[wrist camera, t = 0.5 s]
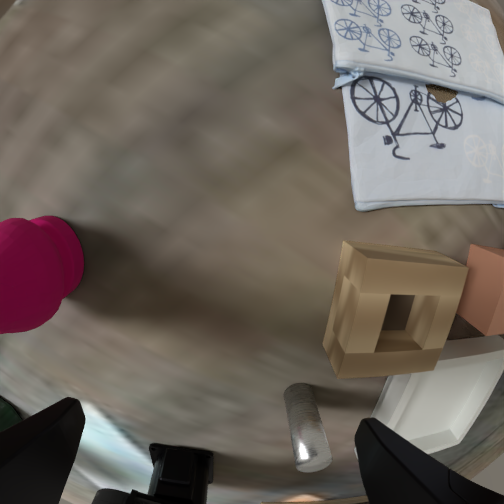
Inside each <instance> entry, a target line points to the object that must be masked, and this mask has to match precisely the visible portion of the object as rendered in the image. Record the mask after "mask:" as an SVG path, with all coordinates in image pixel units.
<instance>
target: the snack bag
mask: <svg viewBox="0 0 504 504" xmlns="http://www.w3.org/2000/svg"><path fill="white" fill-rule="evenodd" d="M322 3H323V6H324V10H325V14H326V18H327V22H328V26H329V30H330V34H331V38H332V42H333V66H334V68H333V69H334V71H335V72H339V73H340V77H339V78H336V80H335V86H334V87H333V88H332V89H336V88H338V87H340V86H341V87H342V93H343V100H344V108H345V116H346V123H347V131H348V143H349V157H350V171H351V184H352V190H353V196H354V202H355V208H356V210H358V211H363V212H364V211H371V210H375V209H381V208H388V207H399V206H413V205H439V204H454V205H459V204H492V205H493V206H494V207H498V208H504V55H503V52H502V50H501V46H500V43H499V40H498V37H497V33H496V30H495V27H494V25H493V23H492V20H491V16H490V12H489V10H488V9H486V8H483V7H481V6H479V5H477V4H475V3H473V2H471V1H469V0H322ZM425 84H428V85H430V84H435V85H439V86H443V87H447V88H450V89H452V90H456V91H458V94H457V96H456V98H453V99H452V100H451V101H447V102H446V103H441V102H437V101H436V100H435V97H434V96H433V95H432V94H431V93H430V92H429V94H430V95H429V94H428V91H427V88H426V85H425ZM495 204H496V205H495Z"/></svg>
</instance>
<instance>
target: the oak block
mask: <svg viewBox="0 0 504 504" xmlns="http://www.w3.org/2000/svg"><path fill="white" fill-rule="evenodd" d="M468 269H469V268H468V267H467V266H465V265H463V264H461V263H459V262H457V261H455V260H453V259H451V258H449V257H447V256H445V255H443V254H440V253H438V252H436V251H431V250H423V249H414V248H406V247H398V246H389V245H380V244H371V243H362V242H353V241H344V240H343V246H342V252H341V257H340V263H339V269H338V274H337V279H336V284H335V290H334V295H333V299H332V304H331V309H330V314H329V318H328V323H327V327H326V332H325V336H324V340H323V344H322V345H323V347H324V349H325V351H326V354H327V356H328V358H329V361H330V363H331V365H332V367H333V370H334V372H335V374H336V377H337V379H344V378H364V377H378V376H390V375H401V374H410V373H418V372H426V371H433V370H434V368H435V366H436V364H437V361H438V359H439V357H440V354H441V352H442V349H443V347H444V344H445V342H446V339H447V336H448V334H449V331H450V328H451V325H452V323H453V320H454V317H455V314H456V311H457V308H458V304H459V301H460V298H461V295H462V291H463V288H464V284H465V280H466V277H467V273H468Z"/></svg>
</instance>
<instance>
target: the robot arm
mask: <svg viewBox="0 0 504 504" xmlns="http://www.w3.org/2000/svg"><path fill="white" fill-rule="evenodd" d="M84 425H85V415H84V412H83V409H82V406H81V403H80V401H79V400H78V399H75V398H71V397H66V398H64V399H62V400H60V401H59V402H57V403H55V404H53V405H51V406H49V407H47V408H46V409H44V410H42V411H40V412H38V413H36V414H34V415H32V416H31V417H29V418H27V419H25V420H23V421H21V422H19V423H17V424H15V425H13V426H11V427H9V428H7V429H5V430H3V431H1V432H0V504H59V501H60V498H61V495H62V492H63V490H64V487H65V484H66V482H67V479H68V476H69V474H70V471H71V468H72V466H73V463H74V461H75V458H76V454H77V451H78V447H79V443H80V439H81V436H82V432H83V429H84ZM355 446H356V451H357V457H358V462H359V468H360V473H361V478H362V481H363V485H364V488H365V491H366V494H367V498H368V501H369V504H504V495H501V494H499V493H496V492H494V491H492V490H489V489H487V488H485V487H482V486H480V485H478V484H476V483H474V482H472V481H470V480H468V479H466V478H465V477H463V476H461V475H459V474H458V473H456V472H455V471H453V470H451V469H449V468H448V467H447V466H445V465H443V464H442V463H440V462H439V461H437V460H436V459H434V458H433V457H431V456H430V455H428V454H427V453H425V452H424V451H422V450H421V449H419V448H418V447H416V446H415V445H413V444H412V443H410V442H409V441H407V440H406V439H405V438H403V437H402V436H400V435H399V434H397V433H396V432H394V431H393V430H392V429H390V428H389V427H387V426H386V425H385V424H383V423H382V422H380V421H379V420H378V419H376V418H374V417H371V418H364V419H362V420H361V422H360V425H359V427H358V429H357V432H356V434H355ZM149 451H150V455H151V459H152V463H153V467H154V470H153V474H152V478H151V482H150V486H149V490H148V494H144V493H140V492H138V491H136V490H133V489H132V491H131V493H130V494H126V495H125V498H124V501H123V504H206V501H207V489H208V484H211V483H213V453H212V452H208V451H199V450H190V449H183V448H176V447H169V446H163V445H158V444H150V446H149Z"/></svg>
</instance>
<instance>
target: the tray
mask: <svg viewBox="0 0 504 504" xmlns="http://www.w3.org/2000/svg"><path fill="white" fill-rule="evenodd" d="M503 370H504V339H503V338H502V337H500V336H499V335H491V336H484V337H476V338H467V339H457V340H447V341H446V342H445V344H444V347H443V349H442V352H441V354H440V357H439V359H438V361H437V364H436V366H435V368H434V370H433V371H426V372H418V373H410V374H401V375H390V376H388V378H387V380H386V383H385V385H384V388H383V390H382V392H381V395H380V397H379V399H378V402H377V404H376V406H375V408H374V410H373V412H372V415H371V417H374V418H376V419H378V420H379V421H380V422H382V423H383V424H385V425H386V426H387V427H389V428H390V429H392V430H393V431H394V432H396V433H397V434H399V435H400V436H402V437H403V438H405V439H406V440H407V441H409V442H410V443H412V444H413V445H415V446H416V447H418V448H419V449H421V450H422V451H424V452H425V453H427V454H430V453H433V452H436V451H439V450H442V449H445V448H448V447H451V446H454V445H457V444H459V443H460V442H461V440H462V439H463V438H464V436H465V435H466V433H467V432H468V430H469V429H470V427H471V426H472V424H473V423H474V421H475V420H476V418H477V417H478V415H479V413H480V412H481V410H482V409H483V407H484V405H485V404H486V402H487V400H488V398H489V397H490V395H491V393H492V391H493V390H494V388H495V386H496V384H497V382H498V380H499V378H500V376H501V374H502V372H503ZM371 417H370V418H371ZM354 451H355V453H356V456H357V451H356V446H355V448H354ZM357 459H358V457H357Z"/></svg>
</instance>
